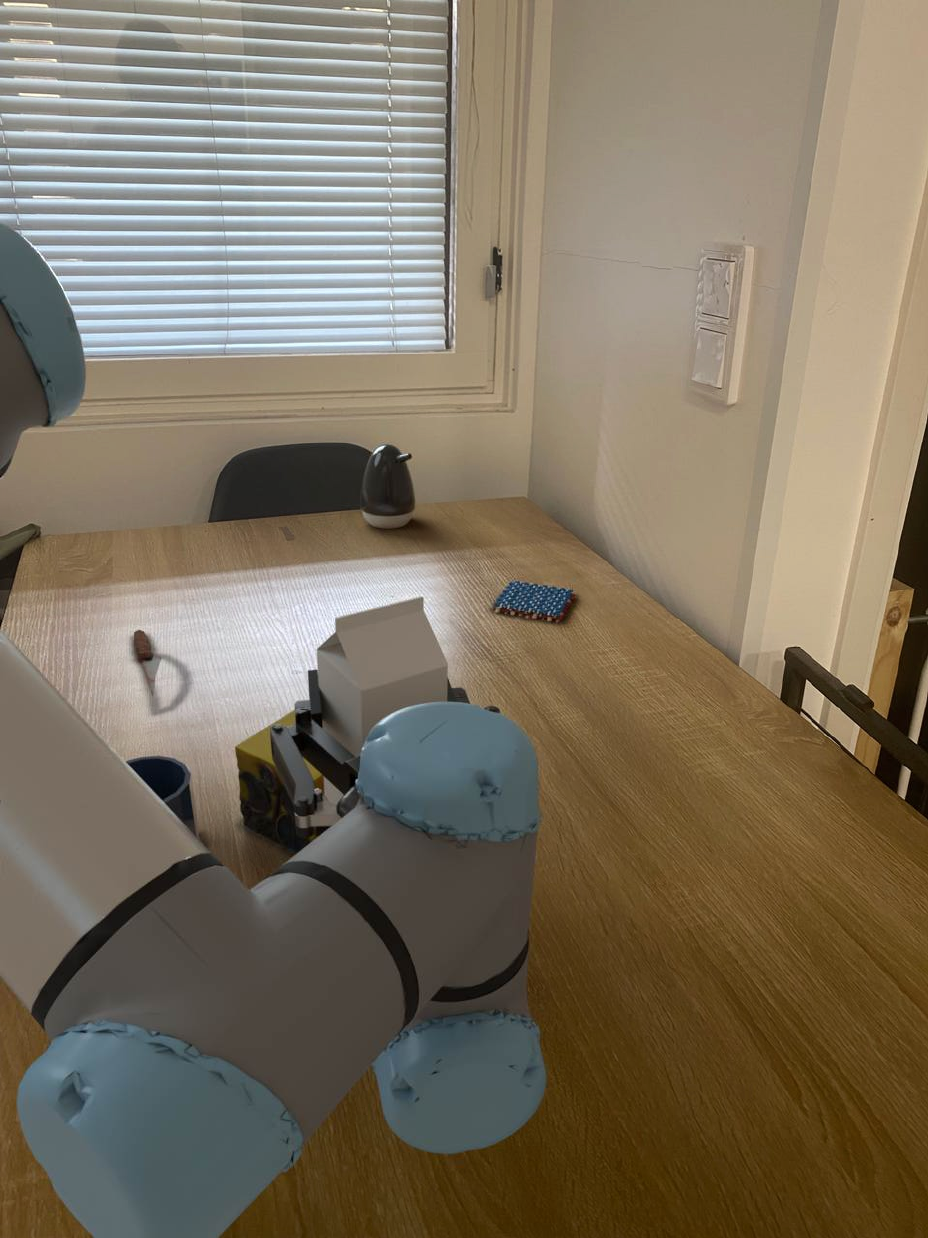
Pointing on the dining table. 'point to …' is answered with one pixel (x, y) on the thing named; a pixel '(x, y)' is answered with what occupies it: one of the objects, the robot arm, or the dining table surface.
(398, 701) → the milk carton
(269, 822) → the candle
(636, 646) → the dining table surface
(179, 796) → the blue cup
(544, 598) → the woven mat
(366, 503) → the pump dispenser
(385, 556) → the dining table surface
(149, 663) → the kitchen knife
